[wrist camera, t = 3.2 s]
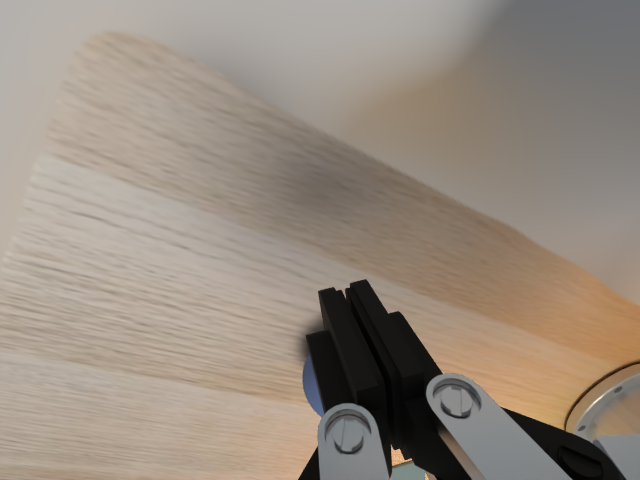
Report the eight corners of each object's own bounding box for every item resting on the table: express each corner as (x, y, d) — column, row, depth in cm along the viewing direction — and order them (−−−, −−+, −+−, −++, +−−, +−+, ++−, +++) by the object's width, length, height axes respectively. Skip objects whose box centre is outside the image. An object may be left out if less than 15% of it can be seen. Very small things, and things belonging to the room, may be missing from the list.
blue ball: (367, 309, 23) (400, 369, 18) (372, 364, 25) (402, 430, 20) (290, 327, 22) (302, 395, 17) (303, 382, 24) (317, 455, 20)
